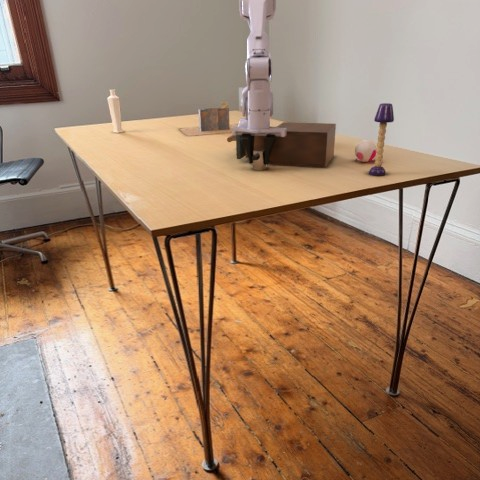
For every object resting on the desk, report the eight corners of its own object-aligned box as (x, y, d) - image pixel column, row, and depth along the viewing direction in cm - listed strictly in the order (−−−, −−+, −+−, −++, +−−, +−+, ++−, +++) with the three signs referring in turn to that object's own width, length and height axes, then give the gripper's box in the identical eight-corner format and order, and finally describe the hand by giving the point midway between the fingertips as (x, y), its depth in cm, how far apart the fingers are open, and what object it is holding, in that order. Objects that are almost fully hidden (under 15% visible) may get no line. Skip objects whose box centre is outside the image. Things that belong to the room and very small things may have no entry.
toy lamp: (366, 171, 128) (374, 102, 119) (384, 171, 128) (393, 102, 119) (370, 175, 124) (378, 105, 115) (388, 175, 123) (398, 104, 115)
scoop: (254, 166, 135) (254, 148, 132) (267, 167, 134) (267, 148, 131) (247, 172, 130) (247, 152, 127) (261, 173, 129) (261, 153, 126)
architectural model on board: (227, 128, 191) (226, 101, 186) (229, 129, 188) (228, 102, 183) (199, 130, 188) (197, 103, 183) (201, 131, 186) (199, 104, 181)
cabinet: (270, 164, 137) (270, 130, 132) (282, 153, 148) (283, 122, 144) (325, 167, 132) (327, 132, 128) (333, 156, 144) (335, 123, 139)
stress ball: (368, 176, 136) (384, 157, 131) (346, 158, 135) (361, 138, 131) (372, 169, 142) (388, 150, 137) (351, 151, 141) (366, 132, 137)
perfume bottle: (127, 131, 190) (121, 89, 182) (119, 133, 186) (112, 90, 179) (118, 130, 192) (112, 88, 184) (110, 132, 189) (104, 89, 181)
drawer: (223, 158, 141) (222, 132, 137) (237, 149, 151) (237, 124, 148) (285, 161, 135) (286, 134, 132) (296, 151, 146) (296, 126, 143)
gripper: (227, 111, 124) (229, 165, 131) (282, 112, 120) (281, 168, 127) (236, 107, 130) (237, 159, 137) (289, 108, 126) (287, 162, 133)
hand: (259, 163), depth 132 cm, fingers closed on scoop, 4 cm apart
